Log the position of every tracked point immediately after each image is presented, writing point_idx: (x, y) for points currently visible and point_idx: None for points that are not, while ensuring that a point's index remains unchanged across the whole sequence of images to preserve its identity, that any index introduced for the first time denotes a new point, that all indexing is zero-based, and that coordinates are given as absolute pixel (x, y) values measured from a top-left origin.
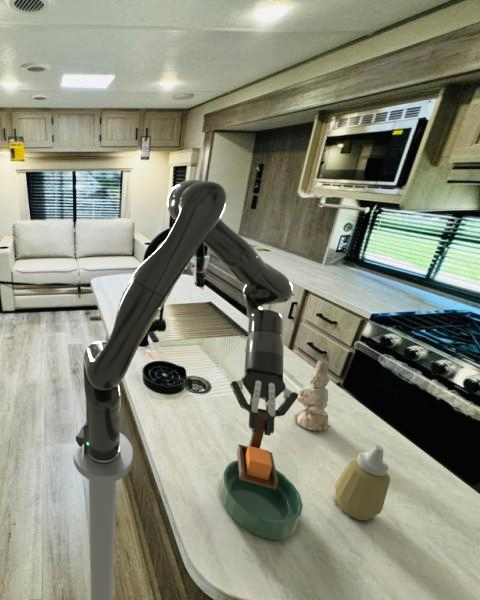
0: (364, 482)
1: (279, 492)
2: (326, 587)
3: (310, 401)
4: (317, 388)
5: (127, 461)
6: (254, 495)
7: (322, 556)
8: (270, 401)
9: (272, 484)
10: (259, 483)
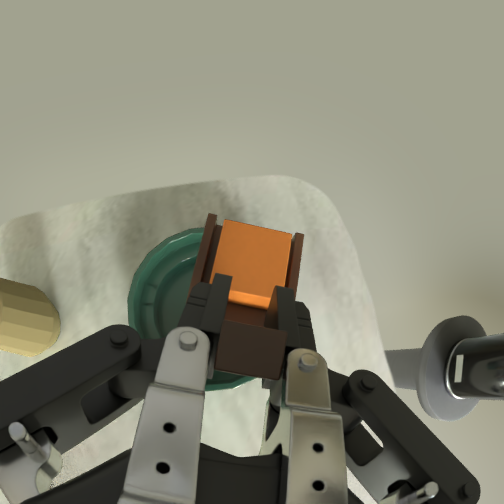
0: (4, 286)
1: (158, 330)
2: (156, 194)
3: None
4: None
5: (432, 359)
6: None
7: (135, 234)
8: (188, 405)
9: (216, 231)
10: None
